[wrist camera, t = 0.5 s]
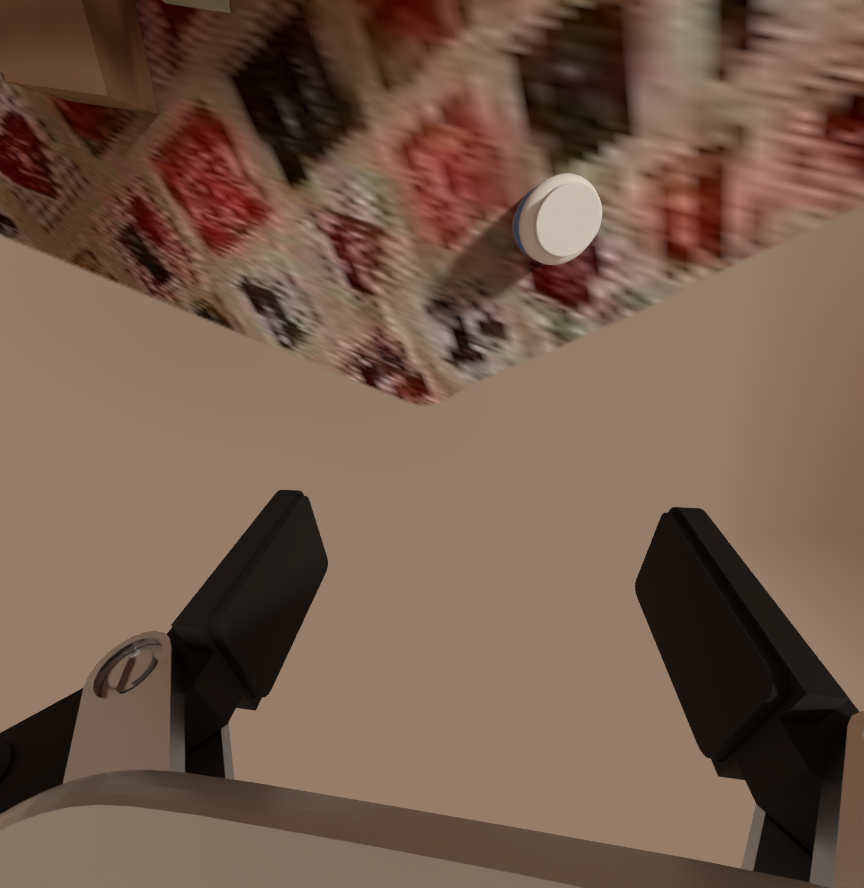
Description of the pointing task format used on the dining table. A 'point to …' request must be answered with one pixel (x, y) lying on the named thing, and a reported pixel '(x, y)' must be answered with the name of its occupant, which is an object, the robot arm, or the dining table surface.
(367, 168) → the dining table surface
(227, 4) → the sage block
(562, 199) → the pill bottle
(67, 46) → the tan square block
